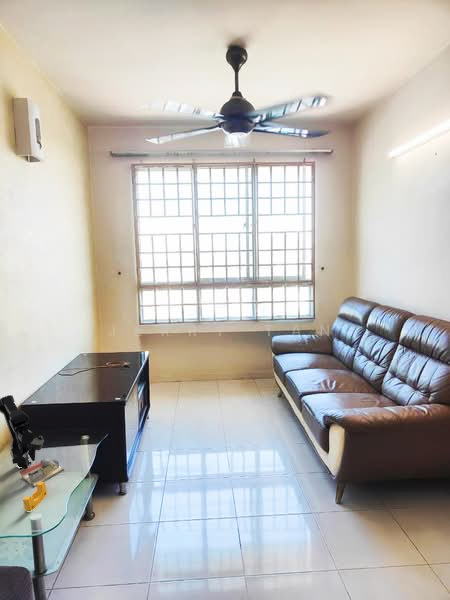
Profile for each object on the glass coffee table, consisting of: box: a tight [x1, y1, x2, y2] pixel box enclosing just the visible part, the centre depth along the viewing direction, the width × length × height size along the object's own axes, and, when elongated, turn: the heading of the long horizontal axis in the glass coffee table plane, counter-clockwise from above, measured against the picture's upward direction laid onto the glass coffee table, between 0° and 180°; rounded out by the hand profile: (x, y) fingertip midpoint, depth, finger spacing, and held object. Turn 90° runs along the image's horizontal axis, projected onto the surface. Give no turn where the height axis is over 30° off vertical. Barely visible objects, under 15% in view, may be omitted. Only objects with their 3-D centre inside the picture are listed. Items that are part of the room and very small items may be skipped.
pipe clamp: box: [22, 481, 48, 512], centre depth 171 cm, size 12×4×6 cm, turn 173°
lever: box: [19, 457, 50, 477], centre depth 191 cm, size 14×4×2 cm, turn 132°
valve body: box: [28, 458, 60, 482], centre depth 194 cm, size 6×14×4 cm, turn 139°
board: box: [21, 459, 65, 488], centre depth 196 cm, size 16×15×1 cm
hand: (30, 465), depth 194 cm, fingers open, 8 cm apart
